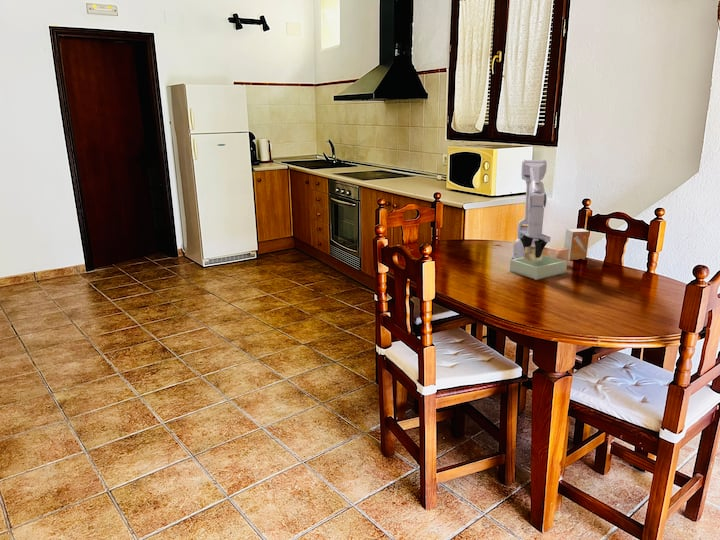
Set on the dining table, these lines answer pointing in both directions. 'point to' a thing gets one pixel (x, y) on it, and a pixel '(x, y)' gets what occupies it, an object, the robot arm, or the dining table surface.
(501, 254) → the dining table surface
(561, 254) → the terracotta capsule
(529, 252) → the birch cube
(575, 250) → the small box
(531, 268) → the tote
